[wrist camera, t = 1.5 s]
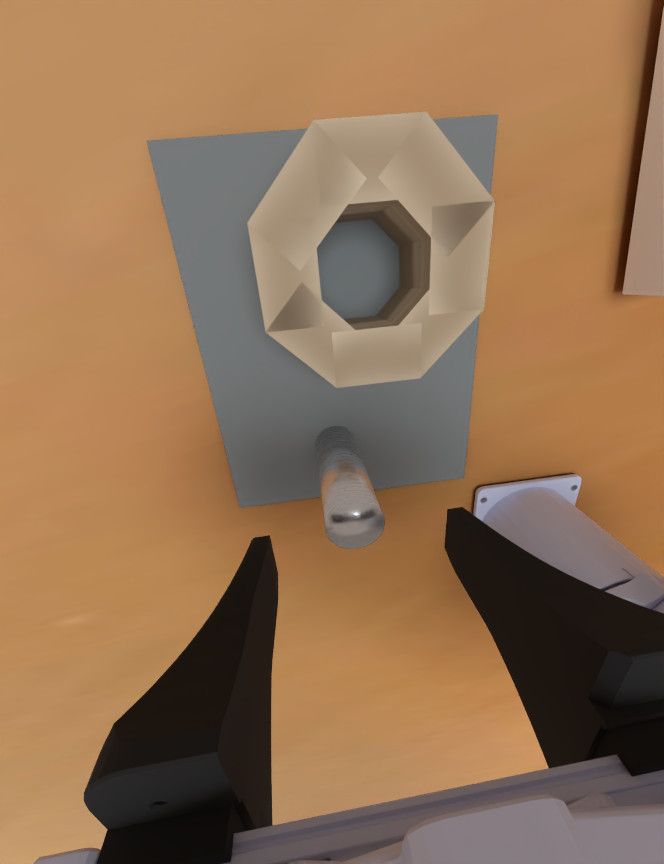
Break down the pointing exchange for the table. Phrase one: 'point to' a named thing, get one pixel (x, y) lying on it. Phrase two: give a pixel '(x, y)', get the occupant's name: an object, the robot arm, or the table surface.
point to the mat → (340, 289)
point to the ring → (400, 219)
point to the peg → (346, 491)
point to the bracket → (650, 198)
